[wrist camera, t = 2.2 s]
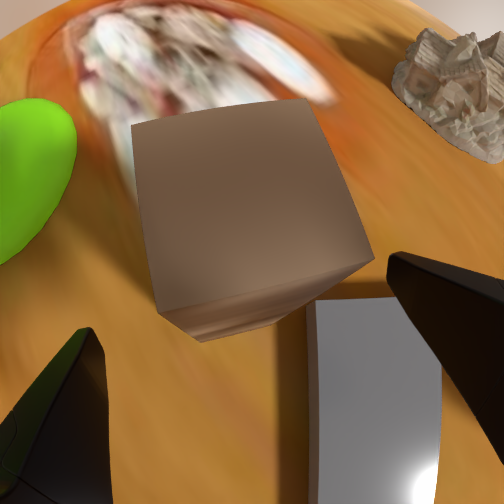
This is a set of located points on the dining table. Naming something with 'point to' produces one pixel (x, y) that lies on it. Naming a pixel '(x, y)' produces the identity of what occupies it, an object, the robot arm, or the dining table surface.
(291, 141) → the walnut block
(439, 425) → the slate board
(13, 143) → the wineglass
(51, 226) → the dining table surface
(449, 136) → the ceramic cottage
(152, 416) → the dining table surface
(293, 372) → the dining table surface
